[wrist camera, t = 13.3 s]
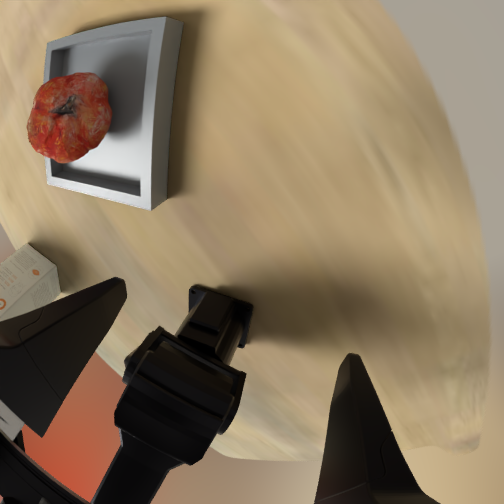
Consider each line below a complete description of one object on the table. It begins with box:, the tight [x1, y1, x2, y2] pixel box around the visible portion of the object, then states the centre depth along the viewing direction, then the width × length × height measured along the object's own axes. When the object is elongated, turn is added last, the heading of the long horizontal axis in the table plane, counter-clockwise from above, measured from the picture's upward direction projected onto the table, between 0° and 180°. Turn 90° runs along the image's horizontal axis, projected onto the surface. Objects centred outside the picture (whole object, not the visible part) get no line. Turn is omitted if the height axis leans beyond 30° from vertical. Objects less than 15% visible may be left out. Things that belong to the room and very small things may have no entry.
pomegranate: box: [27, 72, 112, 163], centre depth 17 cm, size 7×7×10 cm
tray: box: [43, 17, 184, 211], centre depth 20 cm, size 15×14×2 cm
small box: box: [0, 243, 61, 321], centre depth 31 cm, size 8×6×13 cm
